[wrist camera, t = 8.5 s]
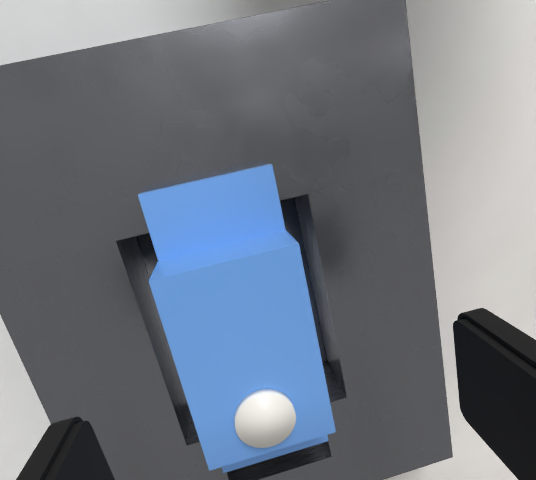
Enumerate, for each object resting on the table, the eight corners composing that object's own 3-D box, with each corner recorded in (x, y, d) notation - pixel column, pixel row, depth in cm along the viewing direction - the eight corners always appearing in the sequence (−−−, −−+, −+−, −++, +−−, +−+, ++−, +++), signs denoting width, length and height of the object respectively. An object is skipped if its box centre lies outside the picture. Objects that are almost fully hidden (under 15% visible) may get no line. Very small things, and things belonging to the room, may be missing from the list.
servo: (258, 161, 16) (285, 166, 10) (307, 388, 19) (348, 490, 13) (153, 185, 15) (121, 204, 10) (220, 413, 18) (225, 529, 13)
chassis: (370, 15, 15) (403, -14, 12) (421, 417, 20) (452, 457, 17) (-44, 99, 13) (-105, 86, 11) (130, 508, 18) (116, 566, 16)
